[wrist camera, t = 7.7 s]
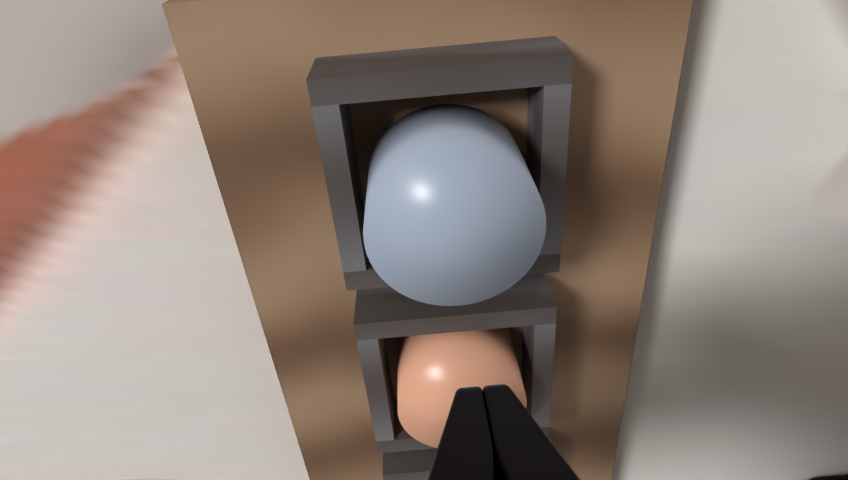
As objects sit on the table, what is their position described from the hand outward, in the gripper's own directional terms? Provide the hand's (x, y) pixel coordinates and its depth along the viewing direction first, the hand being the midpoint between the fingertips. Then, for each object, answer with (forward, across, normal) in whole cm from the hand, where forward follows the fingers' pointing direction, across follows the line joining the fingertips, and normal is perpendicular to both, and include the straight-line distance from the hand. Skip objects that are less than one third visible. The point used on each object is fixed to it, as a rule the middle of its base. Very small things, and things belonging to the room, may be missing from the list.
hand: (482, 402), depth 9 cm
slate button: (+8, 0, 0) cm, 8 cm away
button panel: (+12, 0, +8) cm, 14 cm away
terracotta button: (+10, 0, +8) cm, 12 cm away
